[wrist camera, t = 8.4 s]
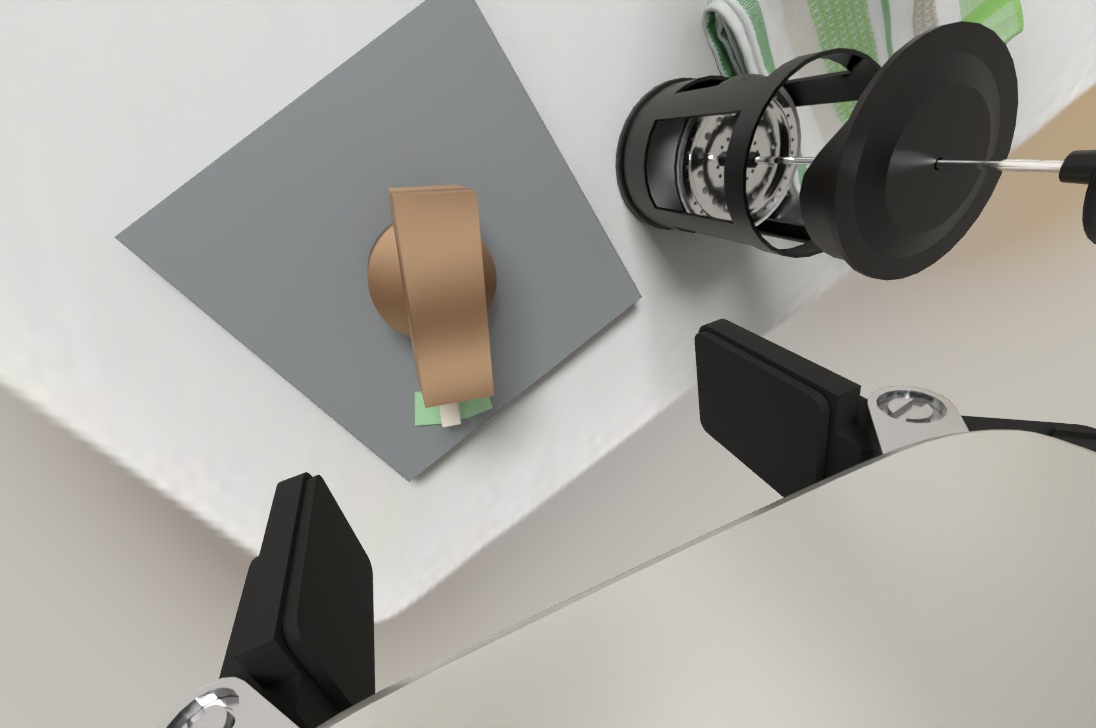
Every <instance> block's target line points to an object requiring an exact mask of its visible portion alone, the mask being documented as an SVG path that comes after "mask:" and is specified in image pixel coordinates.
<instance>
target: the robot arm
mask: <svg viewBox="0 0 1096 728" xmlns="http://www.w3.org/2000/svg"><path fill="white" fill-rule="evenodd" d="M695 351H696V366H697V381H698V395H699V409H700V421H701V424H702V426H703V428H704V430H705V431H706V432H707V433H708V434H710V436H712V437H713V438H714V439H715V440H716V441H718V442H719V443H720V444H721V445H722V446H724V447H725V448H726V449H727V450H728V451H730V452H731V453H732V454H733V455H734V456H735V457H737V458H738V459H739V460H740V461H741V462H743V463H744V464H745V465H746V466H747V467H748V468H750V469H751V470H752V471H753V472H754V473H756V474H757V475H758V476H759V477H760V478H762V479H763V480H764V481H765V482H766V483H767V484H769V485H770V486H771V487H772V488H773V489H775V490H776V491H777V492H778V493H779V494H780V495H781V496H783V497H784V498H782V499H780V500H778V501H776V502H774V503H772V504H770V505H767V506H765V507H763V508H761V509H759V510H757V511H754V512H752V513H750V514H748V515H746V516H744V517H742V518H740V519H737V520H735V521H733V522H731V523H729V524H726V525H724V526H722V527H720V528H718V529H716V530H714V531H711V532H709V533H707V534H705V535H703V536H701V537H699V538H697V539H695V540H693V541H690V542H688V543H686V544H684V545H682V546H680V547H677V548H675V549H673V550H671V551H669V552H667V553H665V554H663V555H660V556H658V557H656V558H654V559H652V560H650V561H648V562H646V563H643V564H641V565H640V566H637V567H635V568H633V569H631V570H629V571H627V572H625V573H622V574H621V575H618V576H616V577H614V578H612V579H610V580H608V581H606V582H603V583H601V584H599V585H597V586H595V587H593V588H591V589H589V590H586V591H585V592H582V593H580V594H578V595H576V596H574V597H572V598H570V599H568V600H566V601H563V602H561V603H559V604H557V605H555V606H553V607H551V608H549V609H547V610H545V611H543V612H540V613H539V614H537V615H534V616H532V617H530V618H528V619H526V620H524V621H522V622H520V623H518V624H515V625H513V626H511V627H509V628H507V629H505V630H503V631H501V632H499V633H497V634H495V635H493V636H490V637H488V638H486V639H484V640H482V641H480V642H478V643H476V644H474V645H472V646H469V647H467V648H465V649H463V650H461V651H459V652H457V653H455V654H453V655H451V656H449V657H447V658H445V659H443V660H441V661H439V662H437V663H435V664H433V665H431V666H429V667H427V668H425V669H423V670H421V671H419V672H417V673H415V674H413V675H411V676H409V677H407V678H405V679H403V680H401V681H399V682H397V683H395V684H393V685H391V686H389V687H387V688H385V689H383V690H381V691H379V692H377V693H376V694H375V661H374V611H373V572H372V566H371V563H370V560H369V558H368V556H367V554H366V552H365V551H364V549H363V547H362V545H361V544H360V542H359V540H358V539H357V537H356V535H355V533H354V532H353V530H352V528H351V526H350V525H349V523H348V521H347V519H346V518H345V516H344V514H343V513H342V511H341V509H340V507H339V506H338V504H337V502H336V500H335V499H334V497H333V495H332V494H331V492H330V490H329V488H328V487H327V485H326V483H325V481H324V480H323V478H322V477H321V476H320V475H317V476H314V477H312V476H311V475H310V474H309V473H307V472H305V473H303V474H300V475H297V476H295V477H292V478H289V479H287V480H284V481H281V482H279V483H278V485H277V487H276V491H275V495H274V499H273V503H272V507H271V511H270V515H269V519H268V523H267V527H266V531H265V535H264V539H263V542H262V546H261V550H260V554H259V556H258V557H256V558H255V559H254V560H252V562H251V564H250V567H249V570H248V574H247V577H246V581H245V585H244V588H243V592H242V596H241V599H240V603H239V607H238V610H237V614H236V618H235V622H234V625H233V629H232V633H231V636H230V640H229V644H228V647H227V651H226V655H225V659H224V662H223V666H222V670H221V673H220V677H219V679H218V680H215V681H213V682H210V683H207V684H206V685H204V686H202V687H201V688H199V689H197V690H196V691H194V692H193V693H191V694H190V695H189V696H188V697H186V698H185V699H184V700H183V701H182V702H180V703H179V704H178V705H177V706H176V707H175V708H174V709H173V710H172V711H171V712H170V713H169V715H168V716H167V717H166V718H165V719H164V720H163V721H162V722H161V724H160V725H159V727H158V728H1096V429H1095V428H1092V427H1088V426H1083V425H1077V424H1064V423H1053V422H1040V421H1026V420H1012V419H999V418H986V417H985V418H984V417H972V416H961V415H960V414H959V412H958V410H957V408H956V407H955V405H954V404H953V403H952V402H951V401H950V400H949V399H947V398H945V397H944V396H942V395H940V394H938V393H935V392H933V391H930V390H927V389H922V388H917V387H909V386H890V387H886V388H881V389H879V390H877V391H875V392H873V393H872V394H871V395H870V396H869V398H868V399H866V398H864V397H862V396H860V389H861V386H860V385H858V384H856V383H854V382H852V381H850V380H848V379H846V378H844V377H842V376H840V375H838V374H836V373H834V372H832V371H830V370H828V369H826V368H824V367H822V366H820V365H818V364H816V363H813V362H811V361H809V360H807V359H805V358H803V357H801V356H799V355H797V354H795V353H793V352H791V351H789V350H787V349H785V348H783V347H781V346H779V345H777V344H775V343H772V342H771V341H768V340H766V339H764V338H762V337H760V336H758V335H756V334H754V333H752V332H750V331H748V330H746V329H744V328H742V327H740V326H738V325H736V324H734V323H732V322H730V321H728V320H725V319H720V320H717V321H714V322H711V323H709V324H706V325H703V326H702V327H701V328H700V330H699V333H698V334H696V336H695Z"/></svg>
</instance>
